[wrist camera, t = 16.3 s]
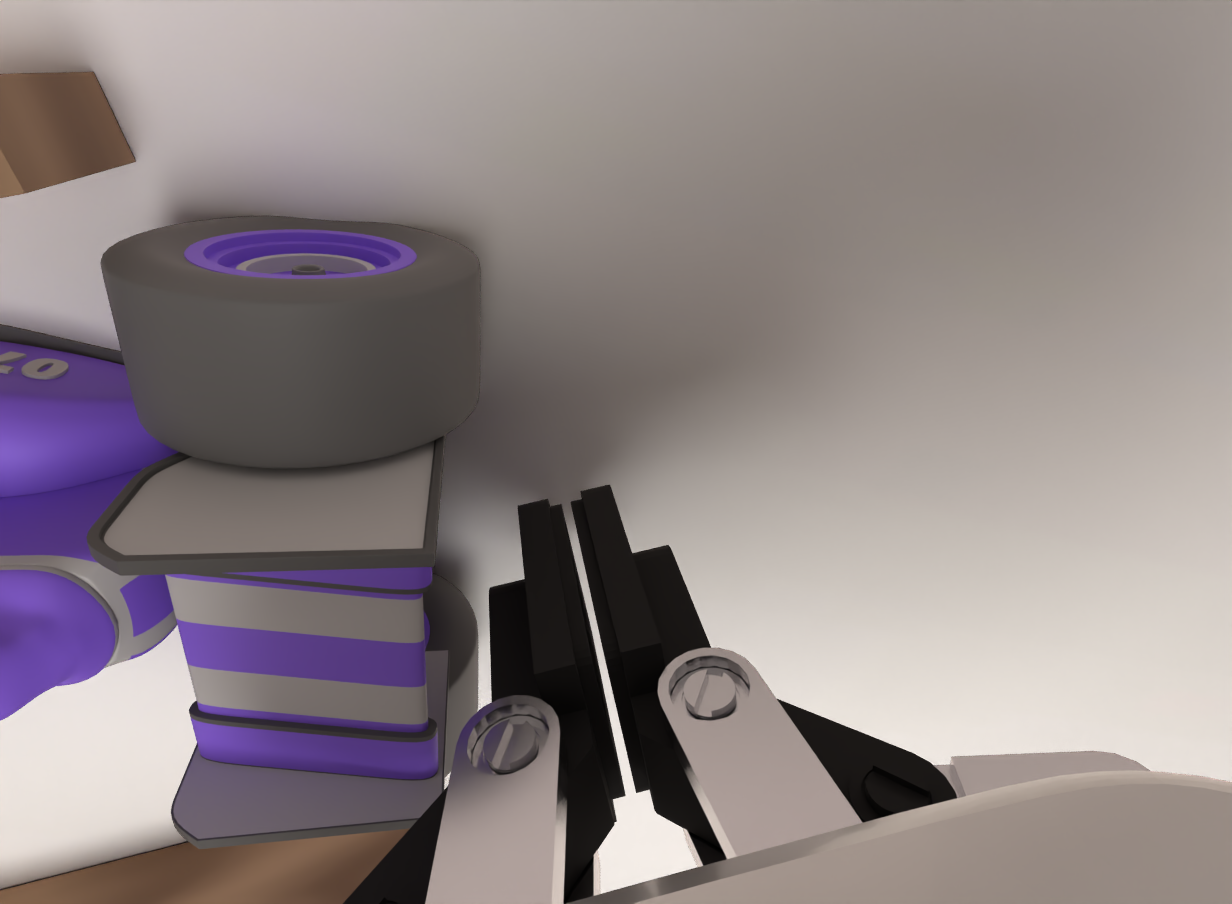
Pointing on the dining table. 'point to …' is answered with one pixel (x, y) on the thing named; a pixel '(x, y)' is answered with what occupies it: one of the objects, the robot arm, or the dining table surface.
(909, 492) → the dining table surface
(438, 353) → the toy race car
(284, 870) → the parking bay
